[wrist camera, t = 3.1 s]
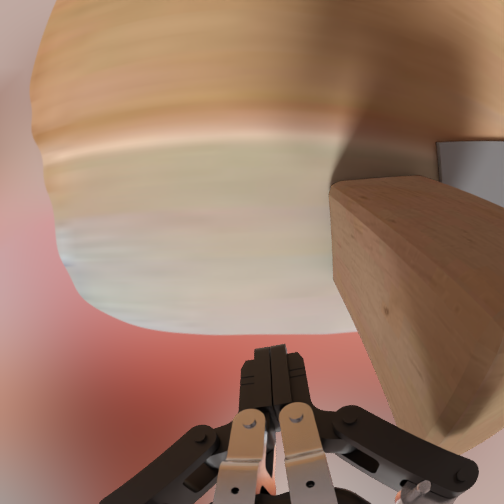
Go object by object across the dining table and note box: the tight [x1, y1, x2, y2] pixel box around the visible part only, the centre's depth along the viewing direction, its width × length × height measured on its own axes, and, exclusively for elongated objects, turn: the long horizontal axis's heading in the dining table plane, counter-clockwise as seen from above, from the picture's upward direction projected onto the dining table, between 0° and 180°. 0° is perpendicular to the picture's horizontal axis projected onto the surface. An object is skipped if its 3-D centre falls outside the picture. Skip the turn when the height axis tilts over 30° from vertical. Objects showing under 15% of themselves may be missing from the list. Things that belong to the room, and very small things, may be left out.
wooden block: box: [329, 175, 504, 455], centre depth 15 cm, size 10×10×20 cm
